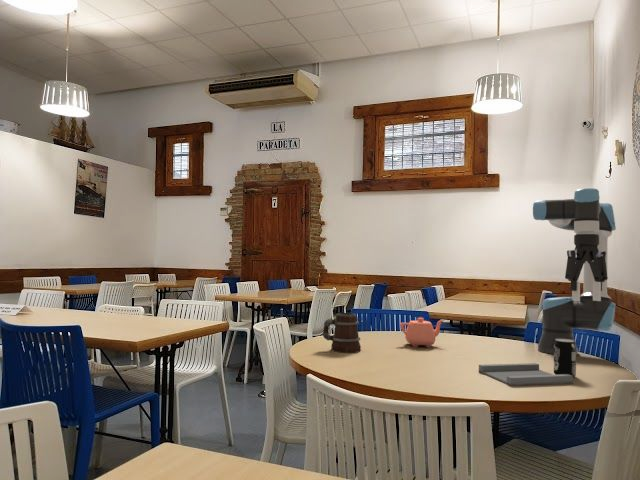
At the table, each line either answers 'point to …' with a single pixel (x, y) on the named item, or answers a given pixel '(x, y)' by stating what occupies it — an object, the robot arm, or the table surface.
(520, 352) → the table surface
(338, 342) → the mug
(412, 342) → the teapot
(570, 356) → the beverage can
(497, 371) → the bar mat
